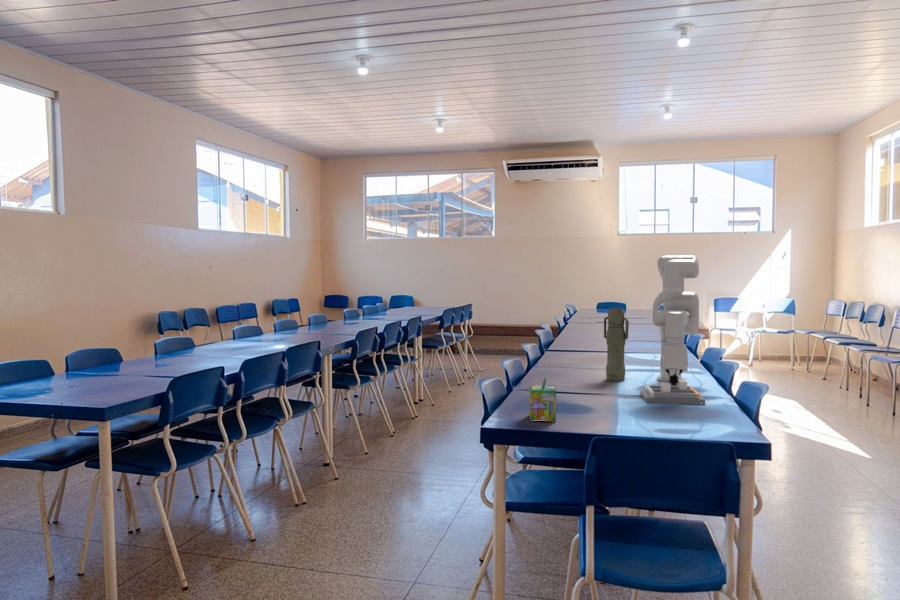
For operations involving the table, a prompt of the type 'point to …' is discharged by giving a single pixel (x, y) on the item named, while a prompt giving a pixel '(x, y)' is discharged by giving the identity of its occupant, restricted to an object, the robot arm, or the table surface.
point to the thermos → (615, 343)
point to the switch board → (671, 395)
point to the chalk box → (542, 402)
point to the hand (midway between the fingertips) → (673, 384)
